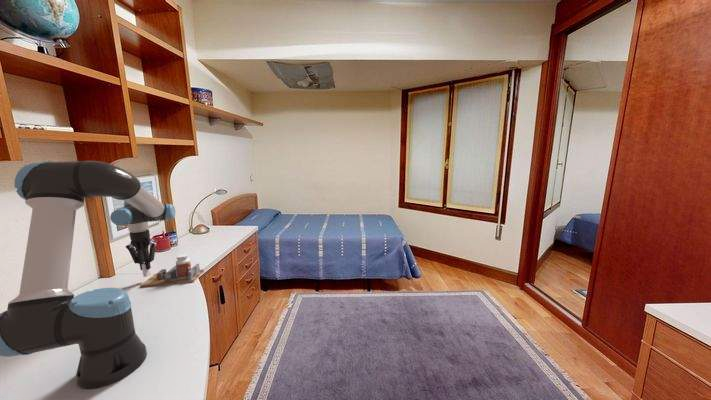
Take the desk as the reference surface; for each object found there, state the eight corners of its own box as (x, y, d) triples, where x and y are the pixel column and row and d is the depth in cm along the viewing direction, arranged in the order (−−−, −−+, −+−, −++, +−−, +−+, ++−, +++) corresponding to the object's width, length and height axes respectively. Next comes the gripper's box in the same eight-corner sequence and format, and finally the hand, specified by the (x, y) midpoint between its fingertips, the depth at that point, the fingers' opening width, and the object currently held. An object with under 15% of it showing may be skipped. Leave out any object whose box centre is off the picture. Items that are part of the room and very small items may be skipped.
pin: (172, 278, 131) (172, 274, 131) (156, 279, 130) (155, 275, 129) (175, 275, 134) (175, 271, 134) (159, 277, 133) (158, 273, 132)
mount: (193, 282, 128) (192, 272, 128) (140, 287, 124) (138, 277, 123) (203, 271, 141) (202, 262, 140) (155, 275, 137) (154, 266, 136)
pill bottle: (192, 276, 132) (189, 256, 131) (177, 279, 129) (174, 258, 127) (191, 272, 138) (189, 252, 136) (177, 275, 134) (174, 255, 132)
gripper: (158, 227, 131) (165, 271, 135) (129, 229, 129) (137, 273, 133) (149, 231, 124) (156, 277, 128) (118, 233, 122) (127, 280, 125)
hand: (146, 275), depth 130 cm, fingers closed
